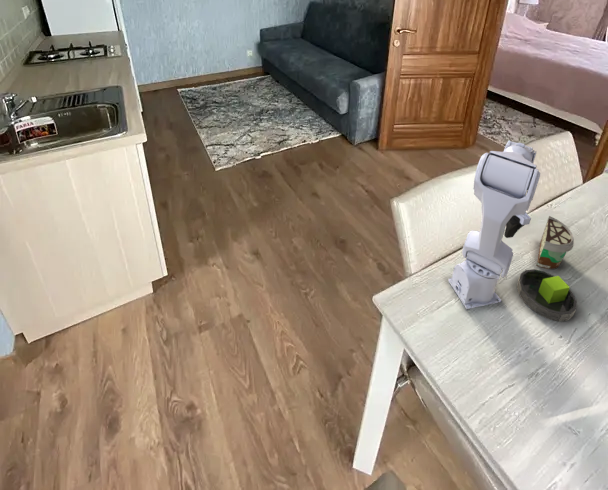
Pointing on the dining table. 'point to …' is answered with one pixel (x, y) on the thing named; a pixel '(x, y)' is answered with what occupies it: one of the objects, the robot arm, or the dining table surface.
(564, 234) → the food container
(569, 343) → the dining table surface
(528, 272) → the bowl
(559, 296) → the green block
